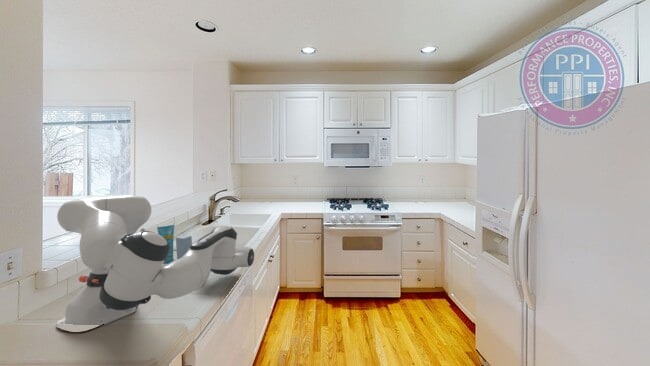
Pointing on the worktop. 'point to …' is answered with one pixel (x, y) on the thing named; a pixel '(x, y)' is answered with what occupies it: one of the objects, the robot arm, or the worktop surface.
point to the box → (183, 245)
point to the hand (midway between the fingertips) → (194, 251)
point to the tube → (169, 235)
